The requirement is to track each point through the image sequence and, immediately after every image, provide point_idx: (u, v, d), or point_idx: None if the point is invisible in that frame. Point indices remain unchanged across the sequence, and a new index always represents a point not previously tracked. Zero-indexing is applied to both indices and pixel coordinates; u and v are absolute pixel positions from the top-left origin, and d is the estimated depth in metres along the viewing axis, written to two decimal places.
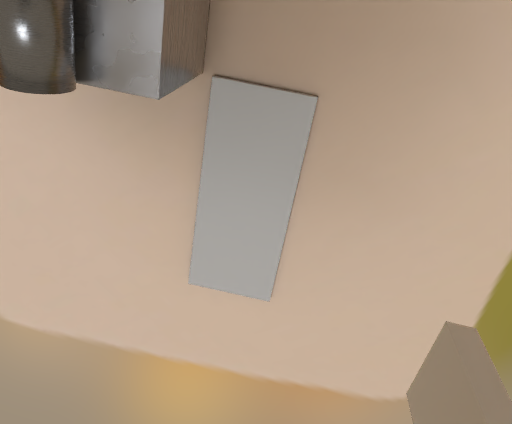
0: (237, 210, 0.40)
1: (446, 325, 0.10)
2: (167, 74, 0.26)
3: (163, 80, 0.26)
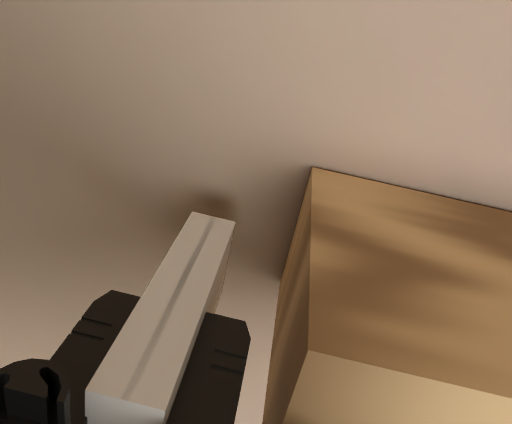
0: None
1: (210, 218, 0.12)
2: None
3: None
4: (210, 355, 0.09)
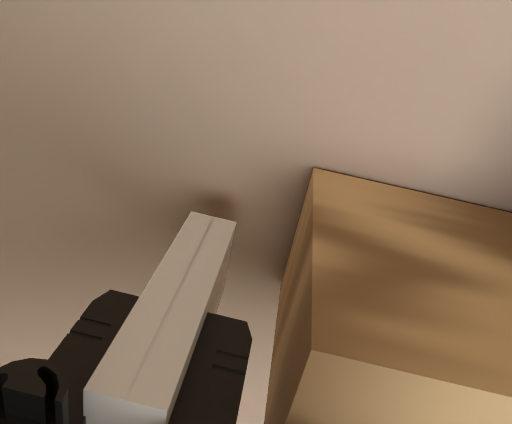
0: None
1: (211, 219, 0.12)
2: None
3: None
4: (212, 355, 0.09)
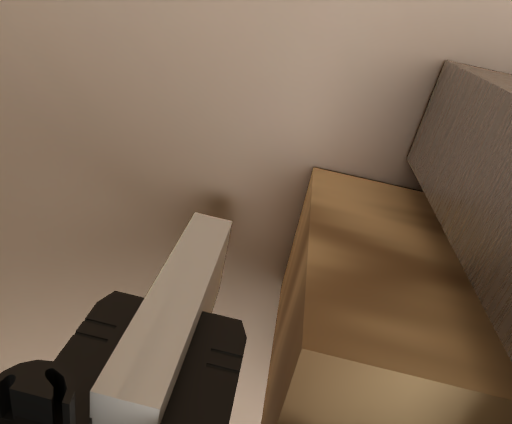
0: None
1: (207, 218, 0.12)
2: None
3: None
4: (206, 354, 0.09)
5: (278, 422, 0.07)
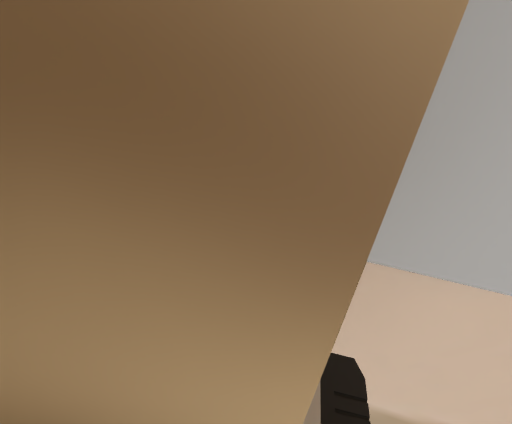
0: (509, 104, 0.19)
1: None
2: None
3: None
4: (331, 398, 0.08)
5: None
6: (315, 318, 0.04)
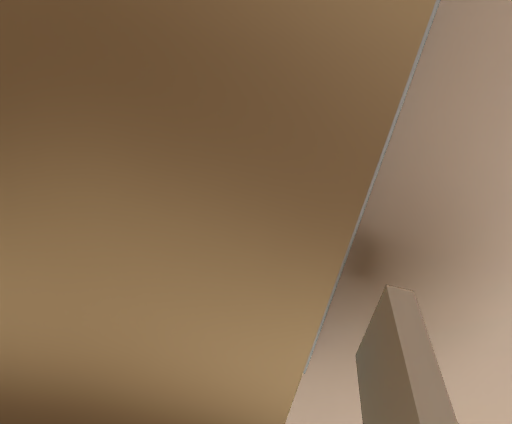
0: None
1: (386, 287, 0.11)
2: None
3: None
4: None
5: None
6: (314, 274, 0.05)
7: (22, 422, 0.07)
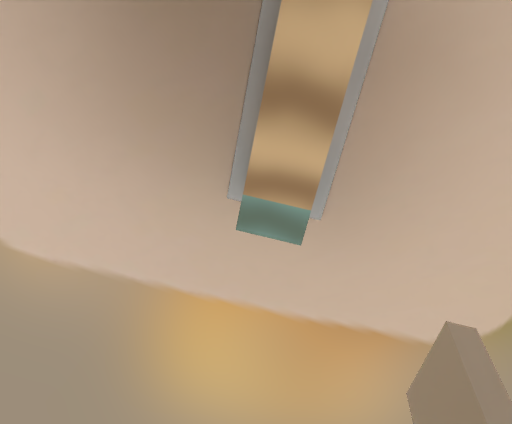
0: None
1: (446, 325, 0.10)
2: None
3: None
4: None
5: None
6: (329, 134, 0.27)
7: (257, 180, 0.29)
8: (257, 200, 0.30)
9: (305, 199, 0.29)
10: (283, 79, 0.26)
